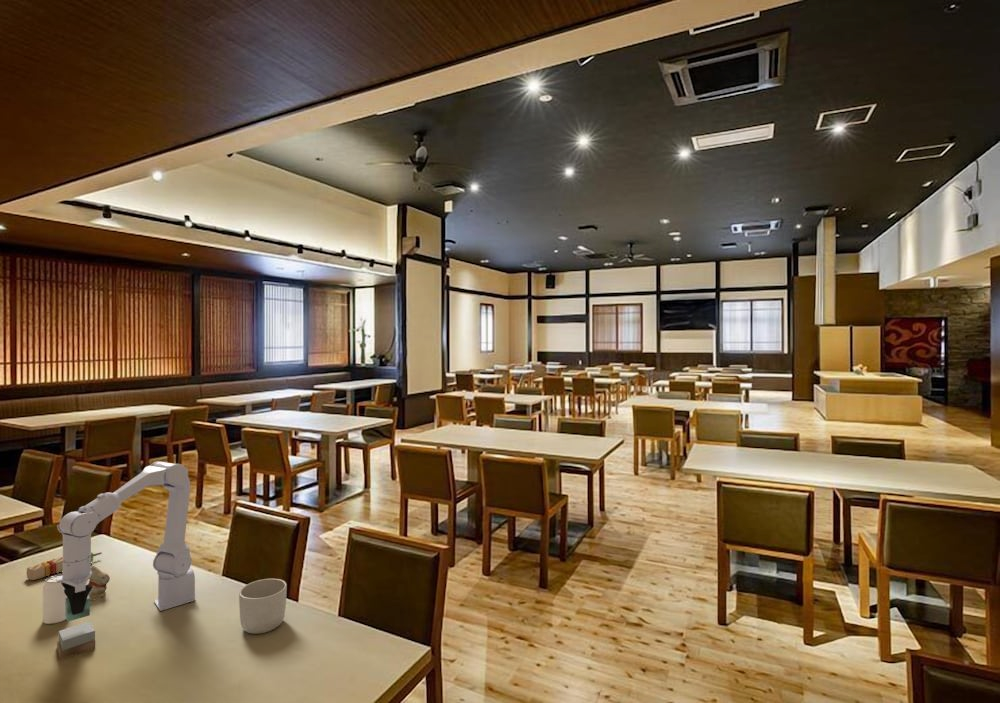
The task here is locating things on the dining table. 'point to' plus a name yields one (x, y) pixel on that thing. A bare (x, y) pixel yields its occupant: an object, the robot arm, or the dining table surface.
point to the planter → (262, 605)
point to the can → (53, 601)
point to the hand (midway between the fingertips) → (76, 609)
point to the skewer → (48, 568)
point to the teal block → (85, 613)
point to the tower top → (76, 635)
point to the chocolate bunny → (98, 583)
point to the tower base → (74, 649)
